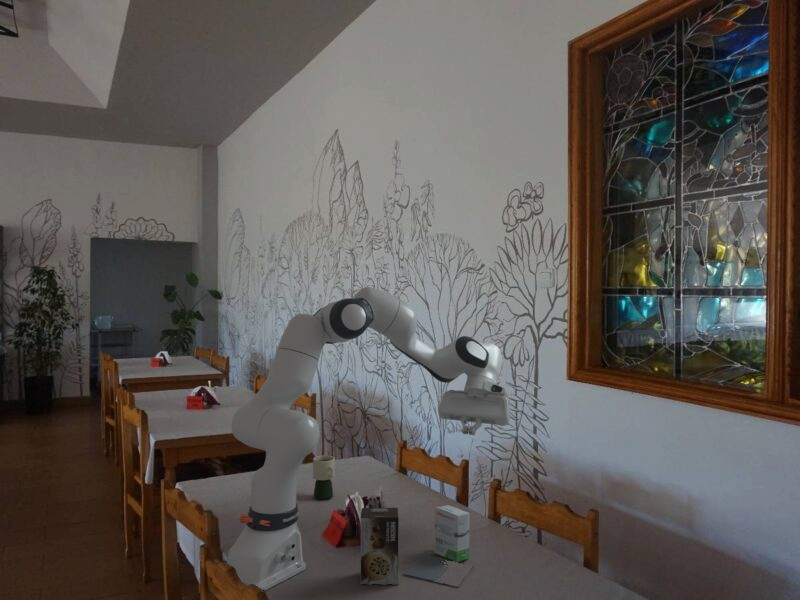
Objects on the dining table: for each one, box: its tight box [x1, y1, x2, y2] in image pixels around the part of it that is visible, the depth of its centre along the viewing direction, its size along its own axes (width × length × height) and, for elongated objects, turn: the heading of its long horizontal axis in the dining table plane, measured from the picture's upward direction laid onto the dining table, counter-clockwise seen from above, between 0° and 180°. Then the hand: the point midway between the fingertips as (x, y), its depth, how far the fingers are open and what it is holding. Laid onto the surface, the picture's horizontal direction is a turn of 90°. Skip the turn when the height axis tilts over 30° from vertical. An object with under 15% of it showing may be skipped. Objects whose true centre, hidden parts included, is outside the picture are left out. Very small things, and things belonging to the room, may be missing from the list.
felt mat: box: [402, 553, 461, 582], centre depth 154 cm, size 12×14×1 cm
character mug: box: [312, 455, 336, 500], centre depth 204 cm, size 11×7×13 cm, turn 38°
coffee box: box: [359, 507, 400, 586], centre depth 149 cm, size 9×6×16 cm
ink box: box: [433, 504, 471, 562], centre depth 162 cm, size 9×5×12 cm, turn 39°
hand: (468, 433), depth 172 cm, fingers closed
